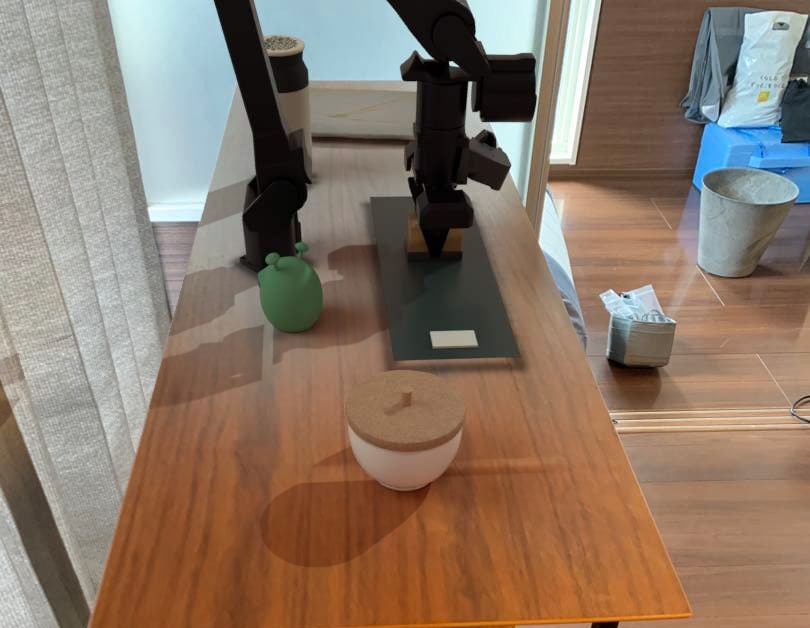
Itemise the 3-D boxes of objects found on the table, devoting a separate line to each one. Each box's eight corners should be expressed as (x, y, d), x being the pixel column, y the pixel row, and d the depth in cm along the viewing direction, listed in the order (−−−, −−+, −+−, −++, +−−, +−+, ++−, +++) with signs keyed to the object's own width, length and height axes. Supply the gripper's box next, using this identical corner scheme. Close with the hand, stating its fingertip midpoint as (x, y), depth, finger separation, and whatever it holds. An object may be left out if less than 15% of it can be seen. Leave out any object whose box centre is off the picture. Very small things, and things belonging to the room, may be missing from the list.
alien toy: (292, 304, 99) (286, 223, 91) (337, 329, 95) (334, 247, 88) (246, 326, 95) (236, 244, 88) (291, 353, 92) (284, 270, 84)
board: (519, 365, 91) (521, 356, 90) (393, 369, 90) (393, 360, 89) (467, 203, 118) (467, 195, 118) (369, 204, 117) (369, 196, 116)
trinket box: (373, 422, 84) (373, 343, 77) (474, 450, 81) (483, 370, 74) (328, 489, 77) (324, 408, 70) (437, 521, 74) (443, 441, 67)
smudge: (477, 347, 91) (477, 345, 91) (433, 348, 91) (433, 346, 91) (473, 332, 93) (473, 330, 93) (429, 333, 93) (430, 331, 93)
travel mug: (316, 169, 125) (309, 35, 112) (310, 192, 119) (303, 54, 106) (263, 167, 125) (250, 32, 112) (255, 190, 119) (241, 51, 106)
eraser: (462, 260, 105) (465, 225, 101) (407, 261, 104) (408, 227, 101) (457, 244, 107) (460, 211, 104) (404, 245, 107) (405, 212, 103)
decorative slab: (267, 142, 131) (266, 129, 130) (282, 94, 146) (281, 82, 144) (438, 148, 132) (439, 135, 130) (436, 100, 146) (436, 88, 145)
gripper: (526, 153, 88) (508, 285, 100) (495, 91, 101) (483, 215, 112) (422, 154, 87) (417, 288, 99) (405, 91, 100) (401, 216, 111)
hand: (433, 249), depth 105 cm, fingers closed on eraser, 4 cm apart
